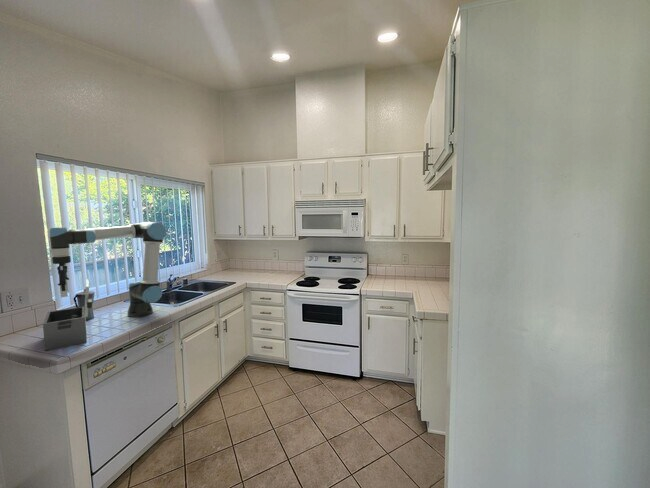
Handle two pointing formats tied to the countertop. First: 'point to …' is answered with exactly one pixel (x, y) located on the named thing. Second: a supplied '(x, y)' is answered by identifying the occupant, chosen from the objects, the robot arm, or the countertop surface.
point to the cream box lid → (87, 301)
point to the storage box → (64, 328)
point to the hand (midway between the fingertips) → (64, 294)
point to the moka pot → (82, 302)
